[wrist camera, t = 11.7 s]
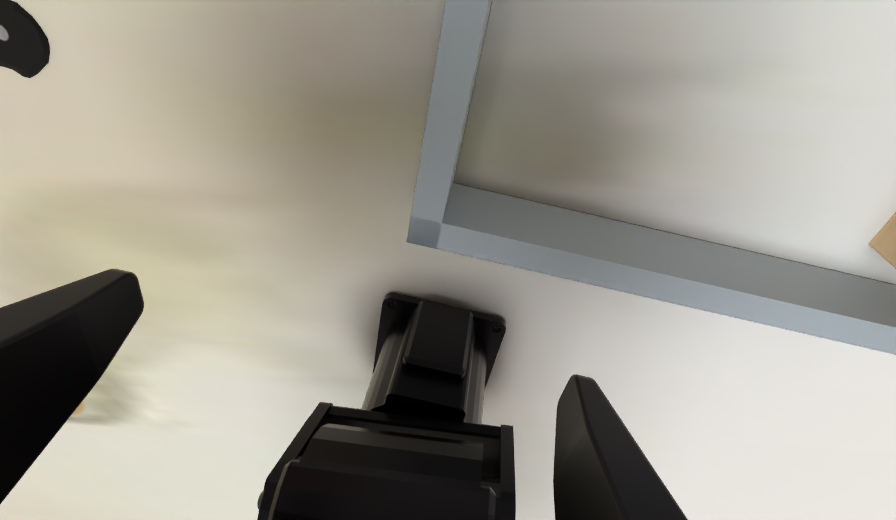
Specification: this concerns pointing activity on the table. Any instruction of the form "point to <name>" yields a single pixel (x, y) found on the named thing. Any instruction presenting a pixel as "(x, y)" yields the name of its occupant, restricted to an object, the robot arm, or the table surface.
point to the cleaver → (21, 40)
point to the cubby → (617, 231)
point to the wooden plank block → (886, 241)
